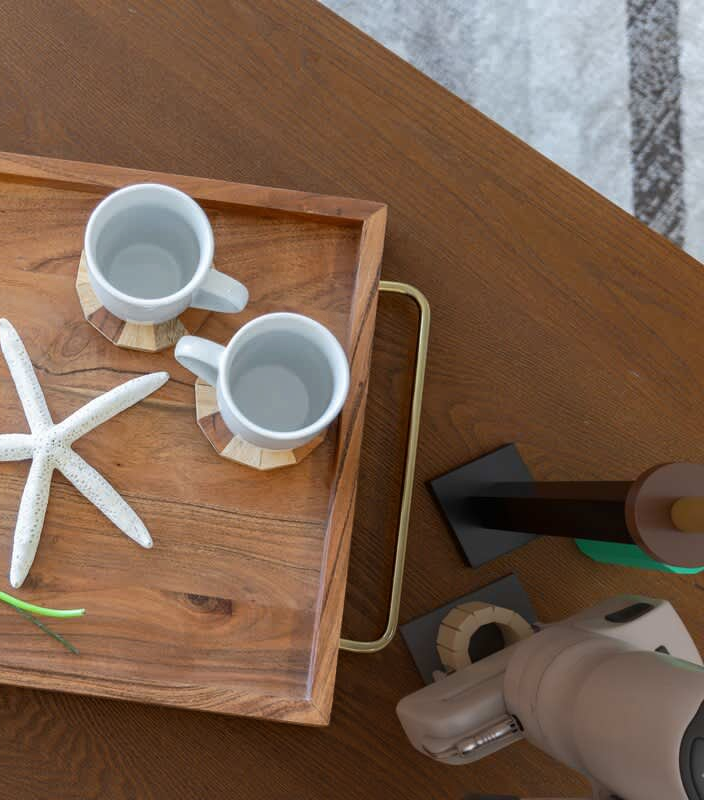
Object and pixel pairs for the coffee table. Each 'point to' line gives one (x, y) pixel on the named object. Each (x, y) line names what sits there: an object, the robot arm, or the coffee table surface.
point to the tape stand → (570, 509)
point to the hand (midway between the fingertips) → (488, 655)
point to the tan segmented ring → (467, 622)
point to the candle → (626, 556)
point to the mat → (483, 641)
